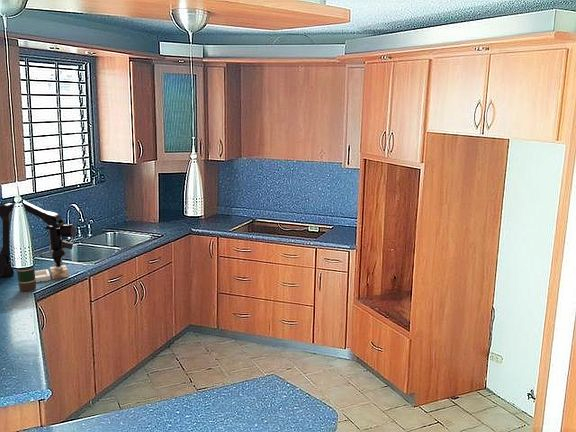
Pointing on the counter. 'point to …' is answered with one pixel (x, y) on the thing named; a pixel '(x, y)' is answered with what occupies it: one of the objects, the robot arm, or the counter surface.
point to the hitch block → (59, 272)
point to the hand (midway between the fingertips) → (58, 265)
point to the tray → (42, 275)
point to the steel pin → (57, 266)
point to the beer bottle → (26, 279)
